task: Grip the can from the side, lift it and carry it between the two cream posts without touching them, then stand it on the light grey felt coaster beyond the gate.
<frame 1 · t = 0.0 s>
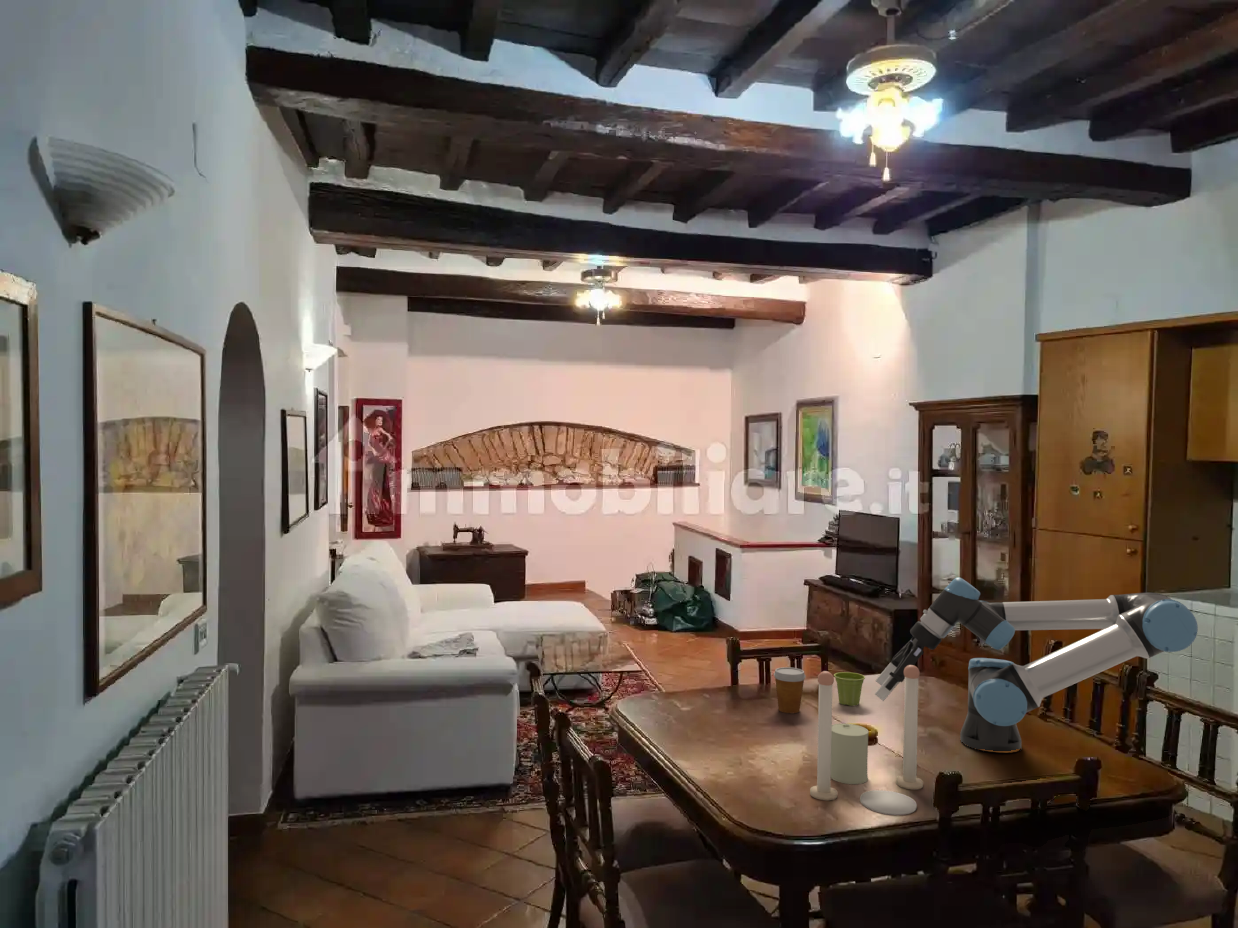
hand: (879, 690, 225), 15 cm above the table, tool tilted 35°, fingers open, 13 cm apart
can: (848, 777, 205), on the table
plant pot: (848, 703, 266), on the table
disposable coffee cup: (788, 710, 257), on the table
gate: (867, 789, 197), on the table
coaster: (888, 803, 189), on the table
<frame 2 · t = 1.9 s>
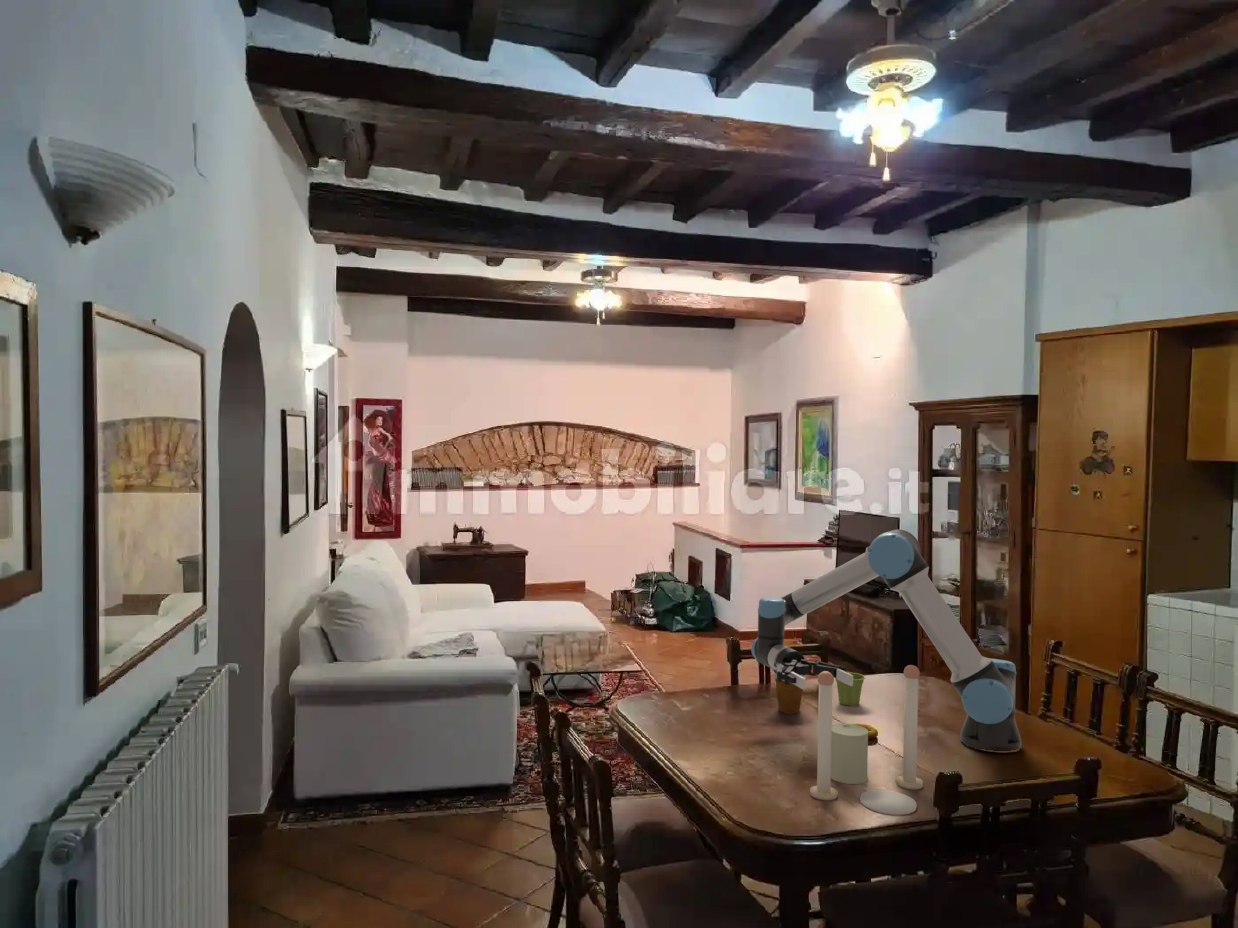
hand: (828, 682, 214), 20 cm above the table, tool horizontal, fingers open, 13 cm apart
nothing on the table moved.
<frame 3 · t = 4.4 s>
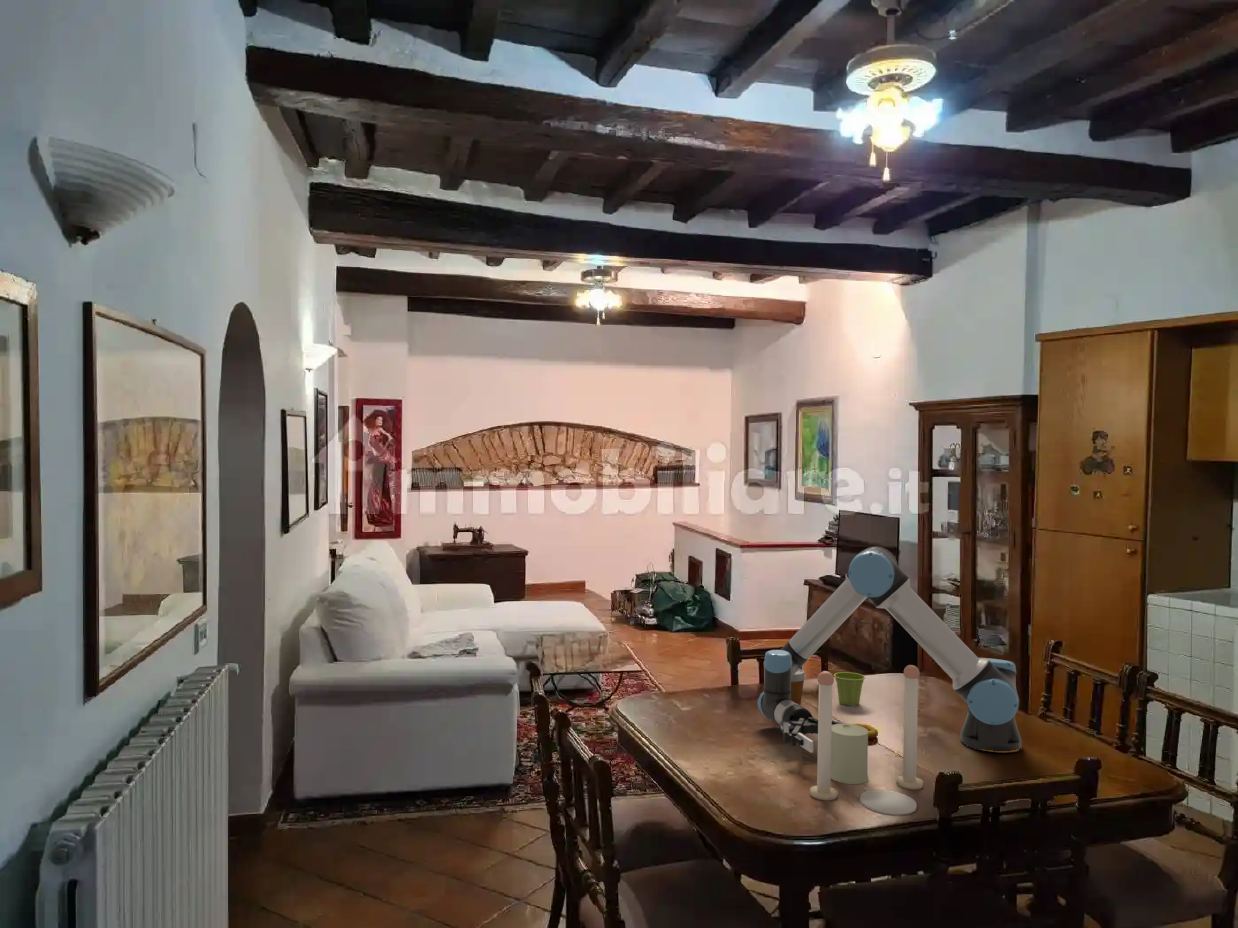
hand: (836, 744, 209), 6 cm above the table, tool horizontal, fingers open, 13 cm apart
nothing on the table moved.
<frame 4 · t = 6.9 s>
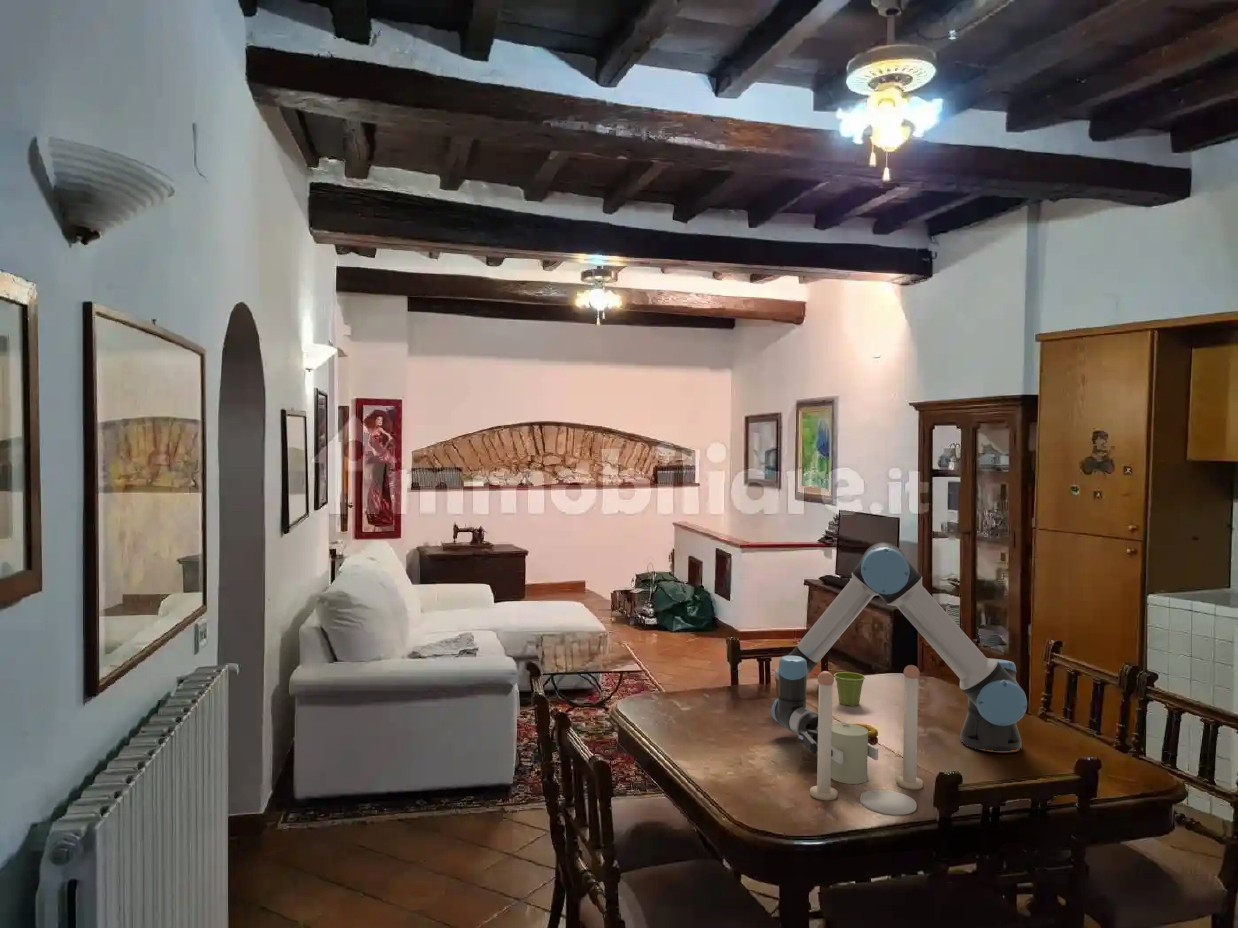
hand: (859, 756, 200), 7 cm above the table, tool horizontal, fingers closed on can, 9 cm apart
can: (848, 777, 205), on the table, touching gripper
everything else where it was.
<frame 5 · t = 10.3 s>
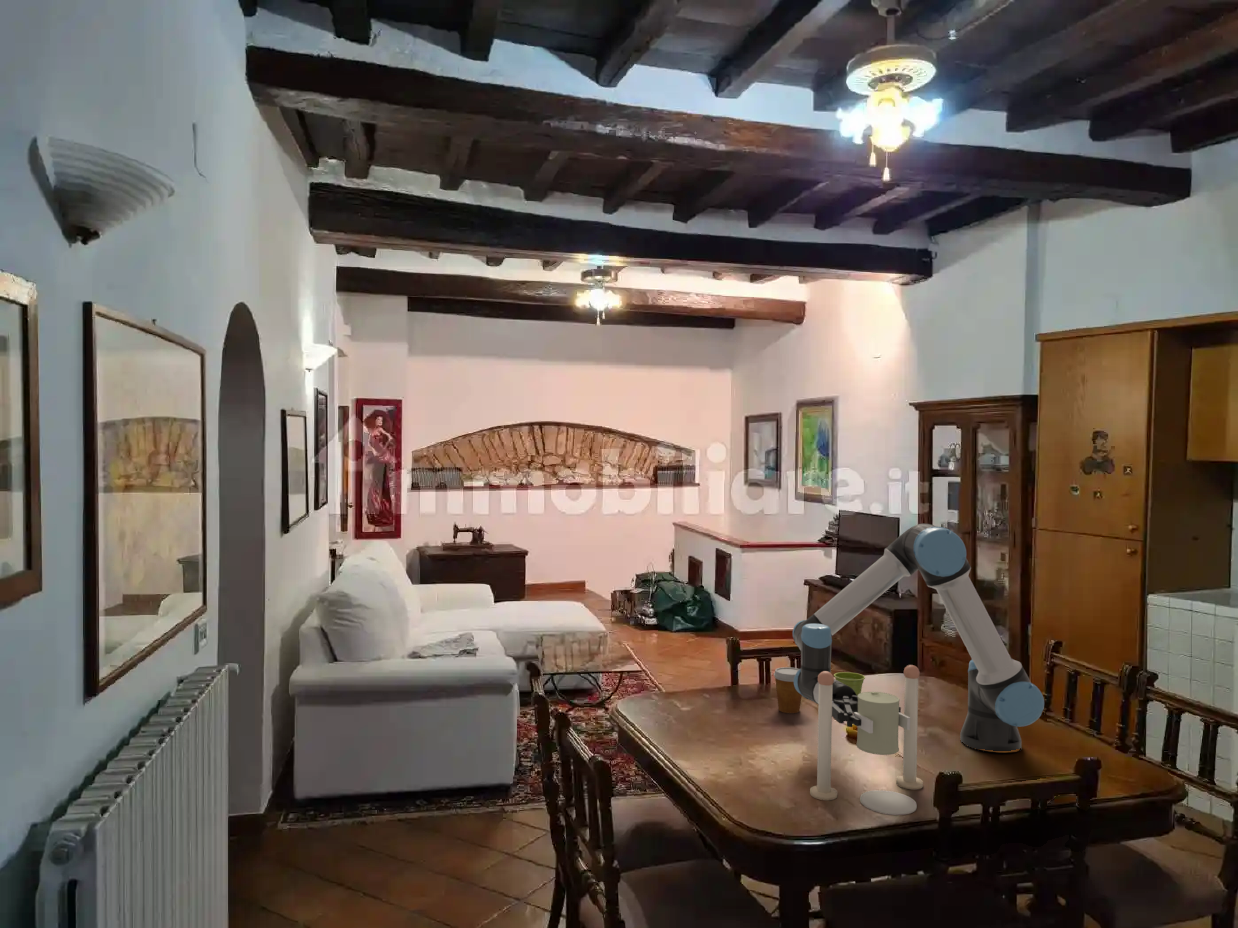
hand: (890, 725, 188), 18 cm above the table, tool horizontal, fingers closed on can, 9 cm apart
can: (877, 748, 192), point 11 cm above the table, touching gripper
everything else where it was.
when the fingers open (9 cm above the table, at t = 13.7 s): can drops 1 cm, resting on coaster.
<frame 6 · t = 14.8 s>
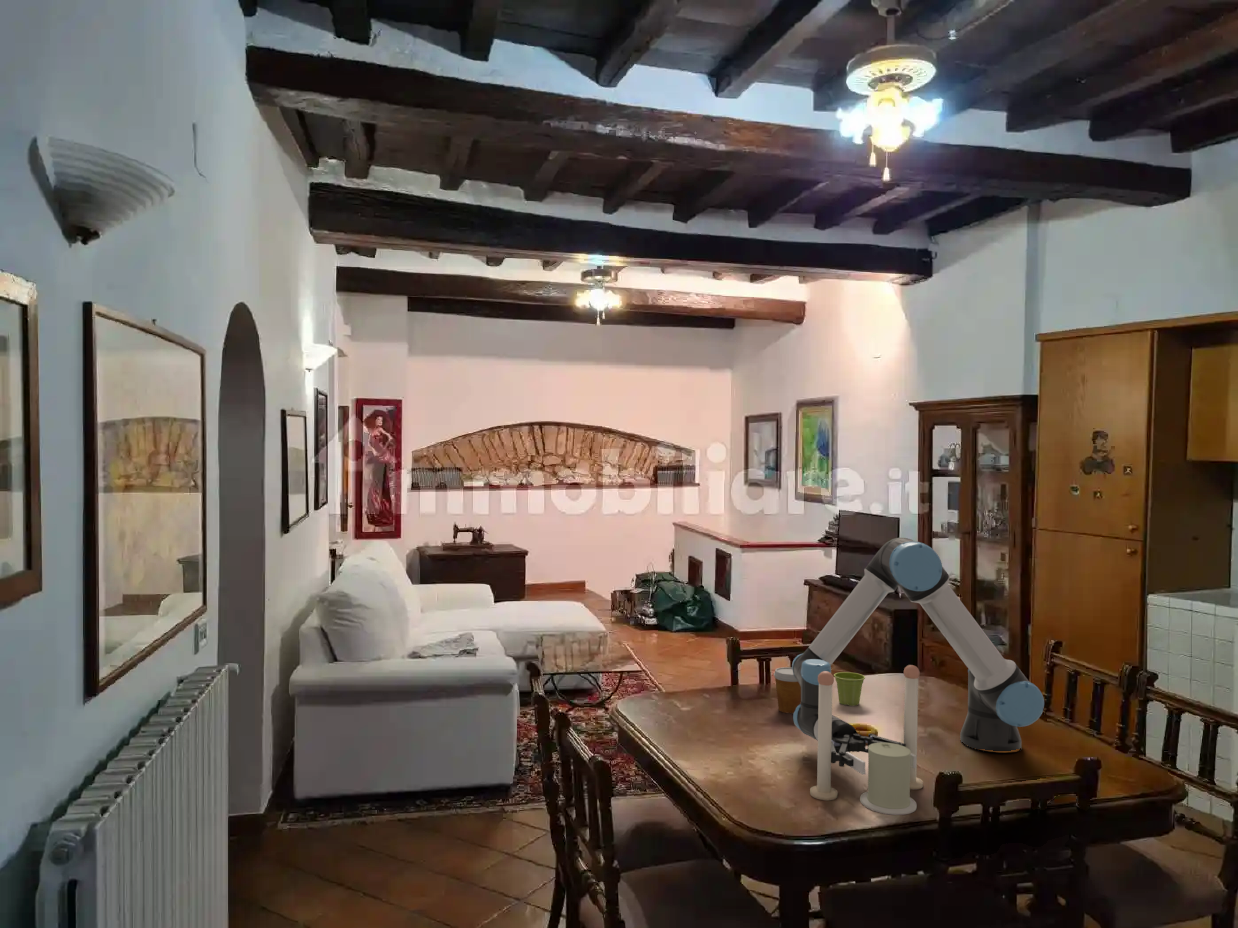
hand: (889, 765, 189), 9 cm above the table, tool horizontal, fingers open, 13 cm apart
can: (888, 801, 190), resting on coaster
everything else where it was.
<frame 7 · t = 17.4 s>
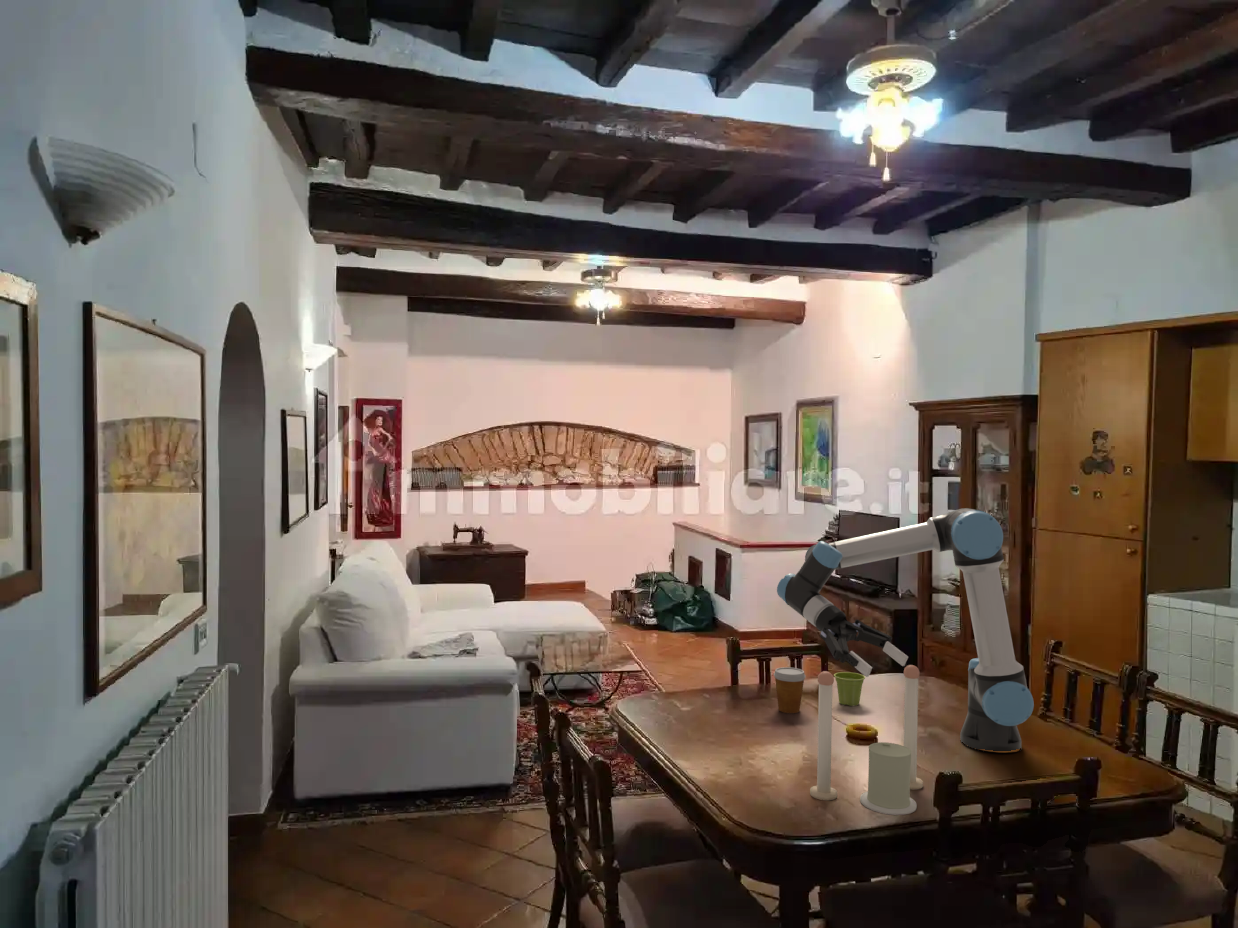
hand: (887, 666, 204), 27 cm above the table, tool tilted 65°, fingers open, 13 cm apart
nothing on the table moved.
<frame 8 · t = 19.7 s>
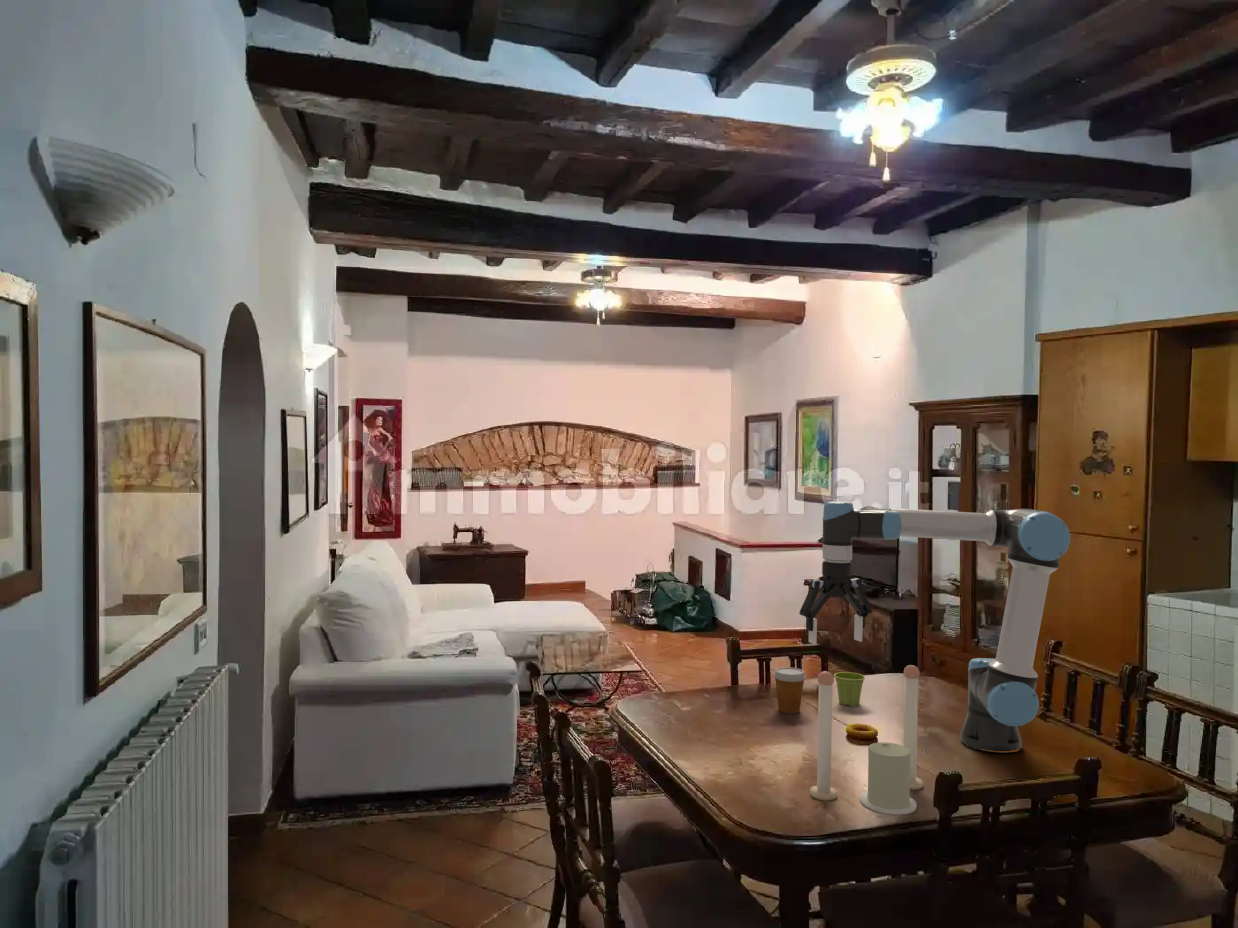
hand: (835, 641, 222), 29 cm above the table, tool pointing down, fingers open, 13 cm apart
nothing on the table moved.
at the end: can 0.1 cm from the coaster (horizontally); can tilted 0°; the gripper is holding nothing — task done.
